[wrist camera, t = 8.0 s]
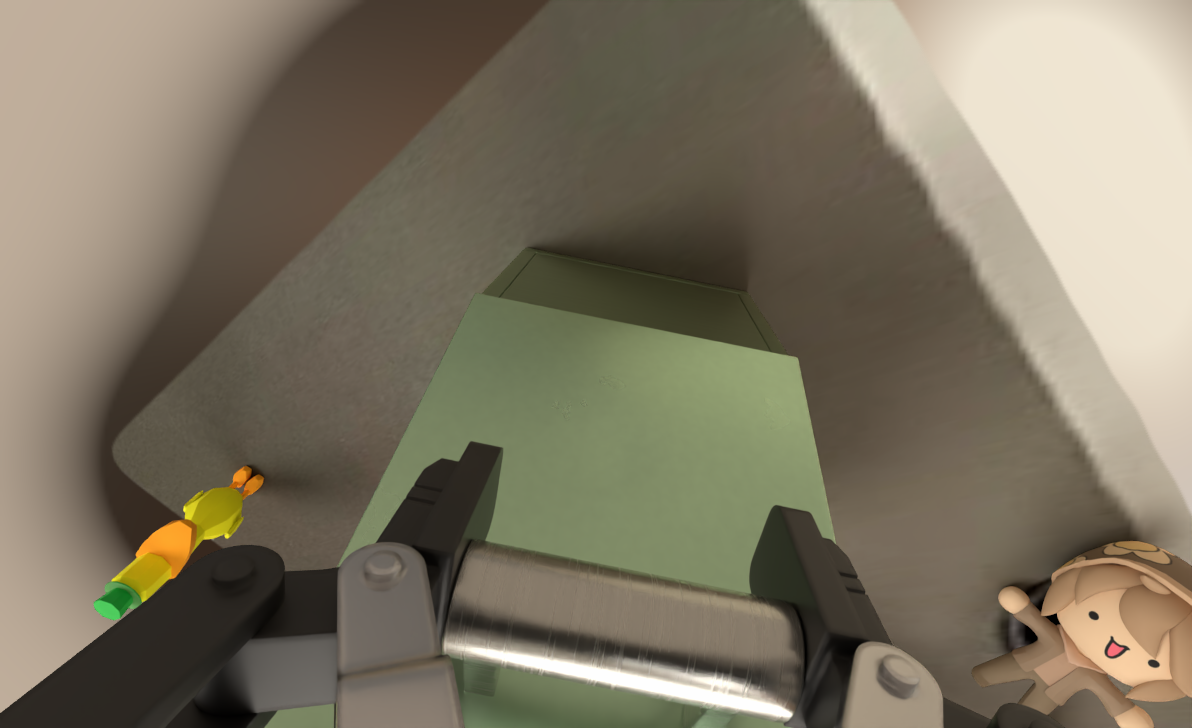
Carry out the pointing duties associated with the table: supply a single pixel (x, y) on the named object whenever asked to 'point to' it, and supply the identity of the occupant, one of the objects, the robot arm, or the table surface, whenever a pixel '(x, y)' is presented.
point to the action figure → (1105, 632)
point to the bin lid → (612, 523)
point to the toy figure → (177, 544)
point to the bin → (635, 298)
